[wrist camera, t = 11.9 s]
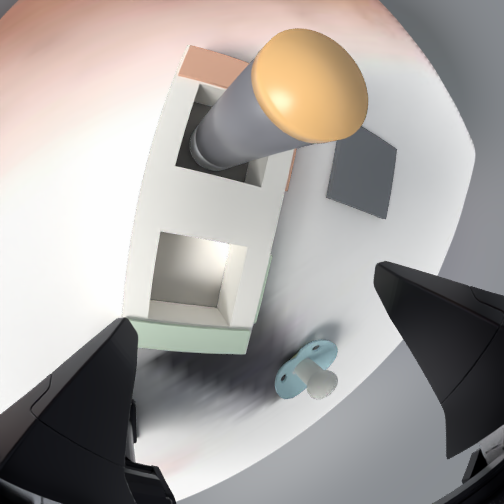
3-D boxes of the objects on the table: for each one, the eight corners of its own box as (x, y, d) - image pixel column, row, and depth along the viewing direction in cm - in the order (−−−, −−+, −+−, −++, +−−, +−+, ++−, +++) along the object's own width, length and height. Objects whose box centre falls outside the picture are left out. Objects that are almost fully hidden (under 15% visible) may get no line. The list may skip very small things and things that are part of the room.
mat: (381, 218, 26) (385, 219, 26) (326, 197, 23) (330, 197, 23) (392, 149, 25) (396, 149, 25) (340, 117, 22) (344, 116, 22)
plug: (245, 167, 20) (376, 141, 8) (192, 175, 19) (273, 142, 7) (238, 116, 19) (353, 41, 7) (185, 122, 18) (252, 20, 6)
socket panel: (234, 333, 22) (250, 355, 19) (123, 322, 19) (120, 347, 15) (287, 102, 20) (312, 88, 17) (179, 66, 16) (188, 42, 13)
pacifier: (335, 353, 28) (314, 324, 26) (372, 382, 23) (355, 355, 20) (288, 398, 27) (259, 375, 25) (318, 433, 21) (291, 416, 19)
